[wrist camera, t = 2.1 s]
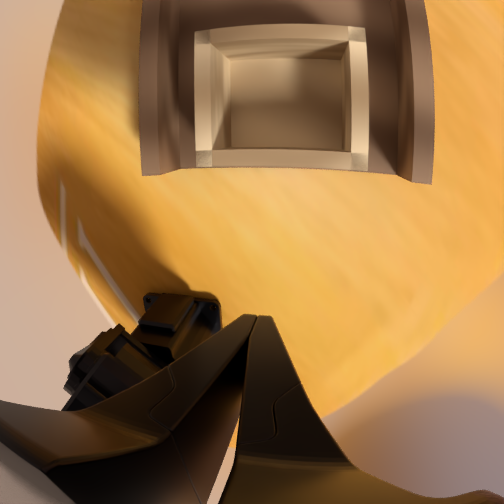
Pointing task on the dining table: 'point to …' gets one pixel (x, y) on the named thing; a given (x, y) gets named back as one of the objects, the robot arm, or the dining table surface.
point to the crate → (282, 96)
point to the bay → (291, 12)
